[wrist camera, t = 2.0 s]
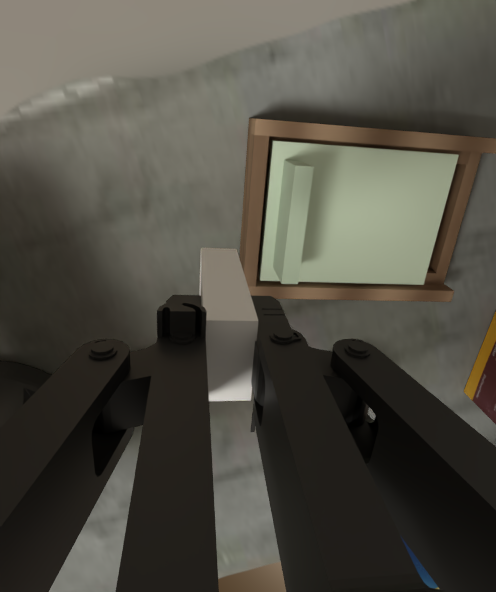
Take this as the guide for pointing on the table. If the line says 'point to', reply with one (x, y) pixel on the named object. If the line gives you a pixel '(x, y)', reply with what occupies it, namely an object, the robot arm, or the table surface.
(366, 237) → the lid
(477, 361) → the supplement box
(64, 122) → the table surface
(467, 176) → the box
